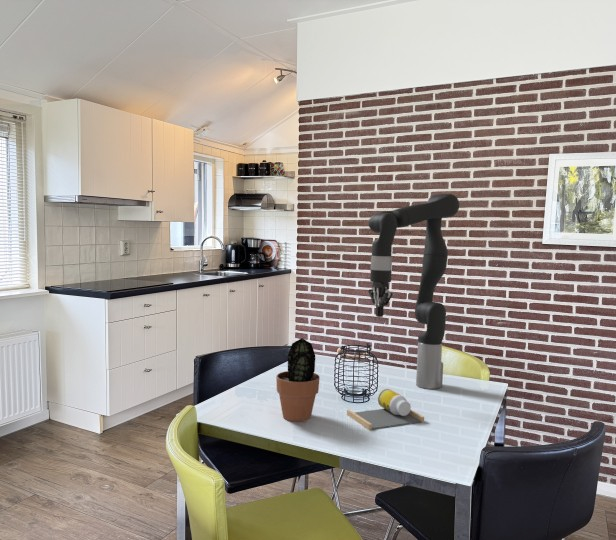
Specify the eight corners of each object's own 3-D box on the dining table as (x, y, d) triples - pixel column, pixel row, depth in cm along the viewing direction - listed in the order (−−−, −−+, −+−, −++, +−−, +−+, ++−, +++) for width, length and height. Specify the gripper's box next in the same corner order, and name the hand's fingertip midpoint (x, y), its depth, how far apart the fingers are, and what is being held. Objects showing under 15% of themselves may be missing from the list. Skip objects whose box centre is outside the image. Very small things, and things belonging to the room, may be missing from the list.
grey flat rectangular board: (398, 407, 174) (399, 403, 174) (424, 421, 161) (424, 416, 161) (346, 414, 166) (346, 409, 165) (369, 429, 153) (369, 424, 153)
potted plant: (266, 415, 163) (268, 337, 162) (300, 406, 172) (302, 333, 170) (293, 428, 153) (295, 345, 151) (327, 418, 161) (329, 340, 160)
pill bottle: (374, 395, 171) (392, 405, 160) (389, 384, 173) (408, 394, 162) (381, 411, 172) (400, 422, 162) (396, 400, 174) (416, 411, 164)
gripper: (400, 270, 179) (398, 319, 181) (380, 267, 192) (378, 313, 193) (382, 270, 176) (380, 320, 177) (362, 267, 188) (361, 314, 190)
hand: (379, 316), depth 185 cm, fingers closed
